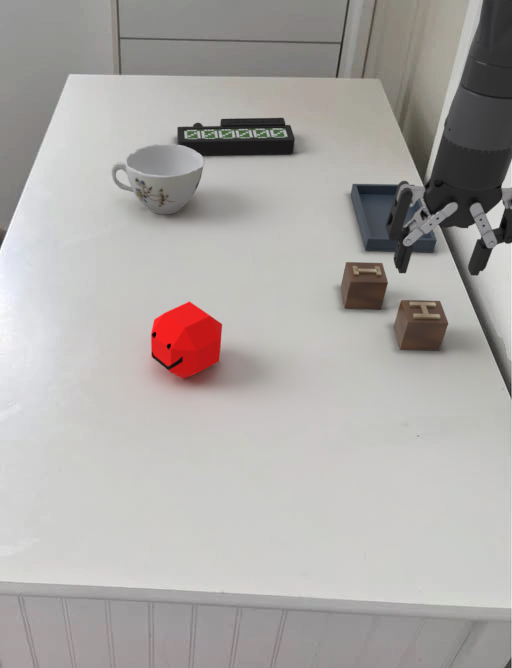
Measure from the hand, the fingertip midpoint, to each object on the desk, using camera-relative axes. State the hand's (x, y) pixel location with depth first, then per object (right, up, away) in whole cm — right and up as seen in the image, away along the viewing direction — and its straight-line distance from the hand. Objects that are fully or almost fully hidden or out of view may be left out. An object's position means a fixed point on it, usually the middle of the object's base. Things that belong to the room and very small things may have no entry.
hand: (436, 271), depth 87 cm
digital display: (-19, +38, +49) cm, 65 cm away
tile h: (0, -7, +8) cm, 10 cm away
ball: (-30, -11, +5) cm, 32 cm away
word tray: (+4, +16, +28) cm, 33 cm away
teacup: (-34, +20, +33) cm, 51 cm away
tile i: (-5, 0, +14) cm, 15 cm away
